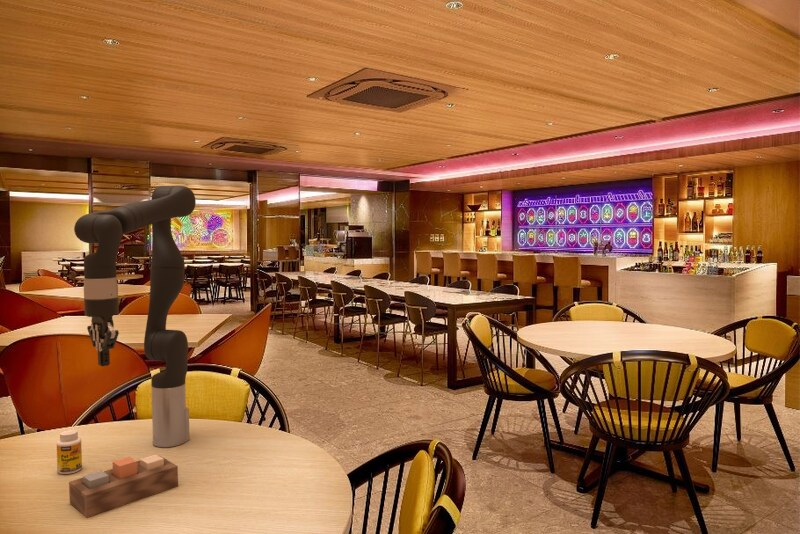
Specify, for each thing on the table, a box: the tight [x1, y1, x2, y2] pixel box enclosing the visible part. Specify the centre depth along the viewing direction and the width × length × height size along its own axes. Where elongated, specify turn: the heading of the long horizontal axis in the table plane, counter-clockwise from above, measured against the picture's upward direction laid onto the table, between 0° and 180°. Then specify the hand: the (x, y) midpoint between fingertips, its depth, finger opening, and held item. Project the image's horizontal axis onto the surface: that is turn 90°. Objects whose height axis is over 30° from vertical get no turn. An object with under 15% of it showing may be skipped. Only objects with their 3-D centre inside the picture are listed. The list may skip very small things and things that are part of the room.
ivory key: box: [139, 454, 164, 471], centre depth 142 cm, size 4×4×4 cm
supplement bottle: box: [56, 429, 83, 475], centre depth 150 cm, size 6×6×10 cm
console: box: [68, 454, 179, 518], centre depth 138 cm, size 21×10×5 cm, turn 138°
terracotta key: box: [112, 456, 138, 480], centre depth 137 cm, size 4×4×4 cm
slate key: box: [82, 470, 109, 489], centre depth 133 cm, size 4×4×4 cm
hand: (104, 365), depth 144 cm, fingers closed
